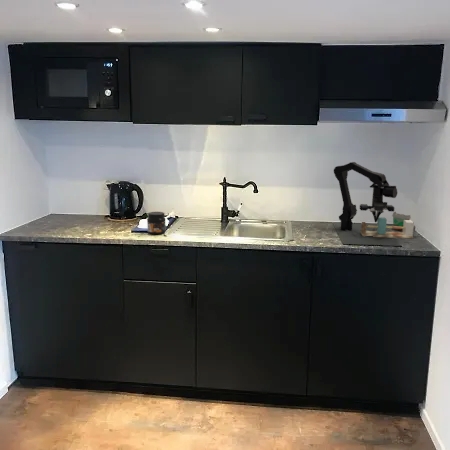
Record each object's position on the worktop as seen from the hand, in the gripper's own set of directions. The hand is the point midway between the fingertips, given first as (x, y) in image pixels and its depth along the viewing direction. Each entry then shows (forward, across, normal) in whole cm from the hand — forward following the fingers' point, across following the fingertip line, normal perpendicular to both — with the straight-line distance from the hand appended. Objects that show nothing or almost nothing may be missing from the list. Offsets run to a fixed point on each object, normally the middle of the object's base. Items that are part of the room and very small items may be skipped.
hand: (375, 222), depth 276 cm
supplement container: (+8, -126, -20) cm, 128 cm away
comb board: (+8, +6, 0) cm, 10 cm away
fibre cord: (+3, +6, 0) cm, 6 cm away
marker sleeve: (+6, +4, 0) cm, 7 cm away
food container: (+8, +16, +16) cm, 24 cm away
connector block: (+7, +19, 0) cm, 20 cm away
